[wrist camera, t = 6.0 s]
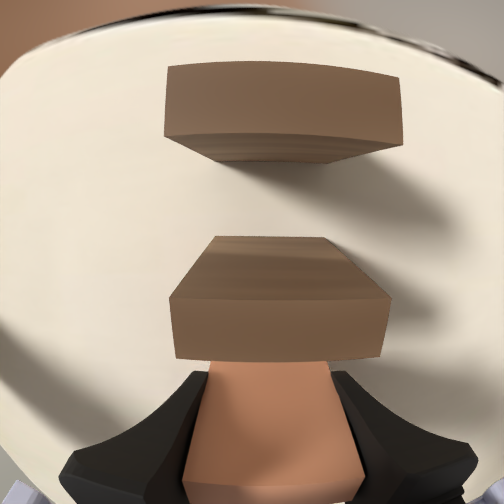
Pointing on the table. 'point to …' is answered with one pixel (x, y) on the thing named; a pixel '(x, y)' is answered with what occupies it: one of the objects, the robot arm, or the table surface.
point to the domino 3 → (271, 437)
